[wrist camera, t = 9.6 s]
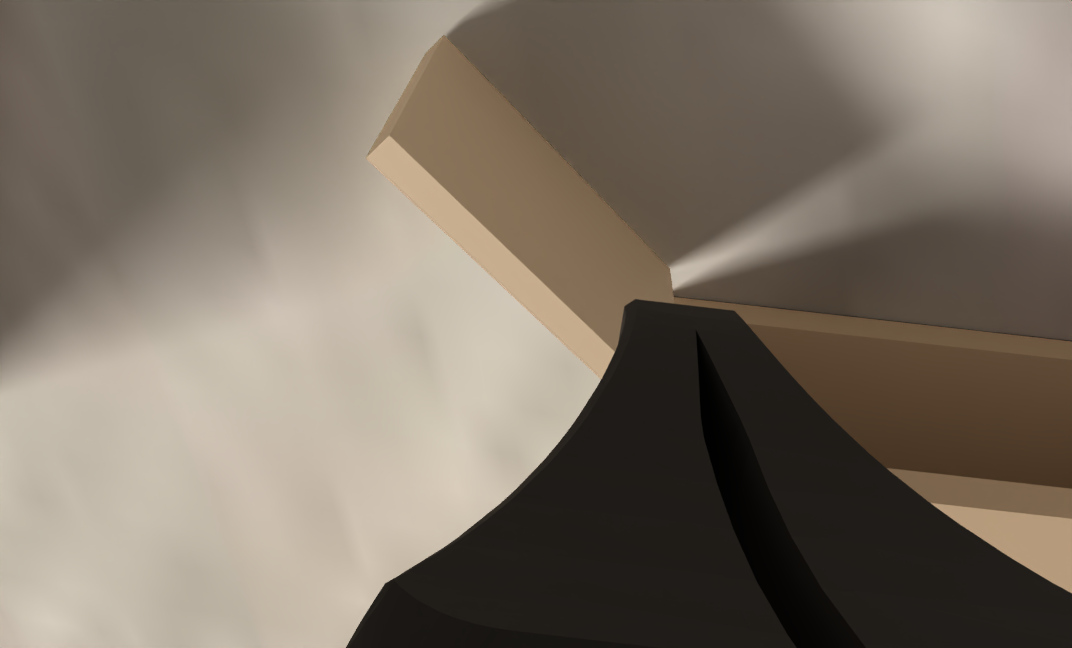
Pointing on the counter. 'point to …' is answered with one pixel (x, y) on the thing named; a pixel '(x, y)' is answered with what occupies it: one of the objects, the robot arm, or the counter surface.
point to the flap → (516, 205)
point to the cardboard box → (947, 417)
